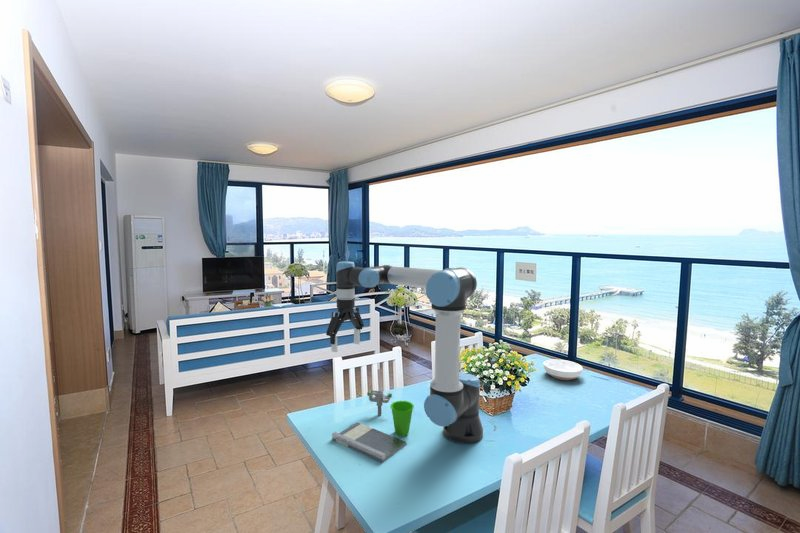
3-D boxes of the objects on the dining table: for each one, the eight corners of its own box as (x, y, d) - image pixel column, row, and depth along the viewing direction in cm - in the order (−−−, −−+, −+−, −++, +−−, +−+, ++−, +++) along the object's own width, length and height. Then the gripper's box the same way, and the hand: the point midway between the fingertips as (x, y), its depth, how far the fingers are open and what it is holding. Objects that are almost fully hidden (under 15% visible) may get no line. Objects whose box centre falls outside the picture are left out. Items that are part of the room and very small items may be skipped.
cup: (386, 436, 148) (386, 408, 147) (395, 425, 156) (395, 398, 155) (408, 441, 145) (408, 413, 144) (416, 429, 153) (417, 402, 152)
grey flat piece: (406, 444, 143) (406, 437, 142) (382, 462, 131) (382, 455, 131) (357, 424, 157) (357, 418, 156) (332, 439, 145) (332, 433, 145)
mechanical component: (390, 418, 162) (390, 394, 161) (366, 415, 164) (366, 392, 163) (392, 414, 165) (392, 392, 164) (368, 412, 167) (368, 389, 166)
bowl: (546, 382, 202) (547, 370, 201) (539, 368, 221) (540, 358, 220) (587, 384, 199) (587, 373, 198) (576, 371, 218) (576, 360, 217)
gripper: (359, 293, 176) (359, 339, 178) (316, 301, 156) (317, 353, 158) (371, 295, 172) (371, 342, 174) (330, 303, 152) (330, 356, 154)
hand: (345, 347), depth 166 cm, fingers open, 13 cm apart
